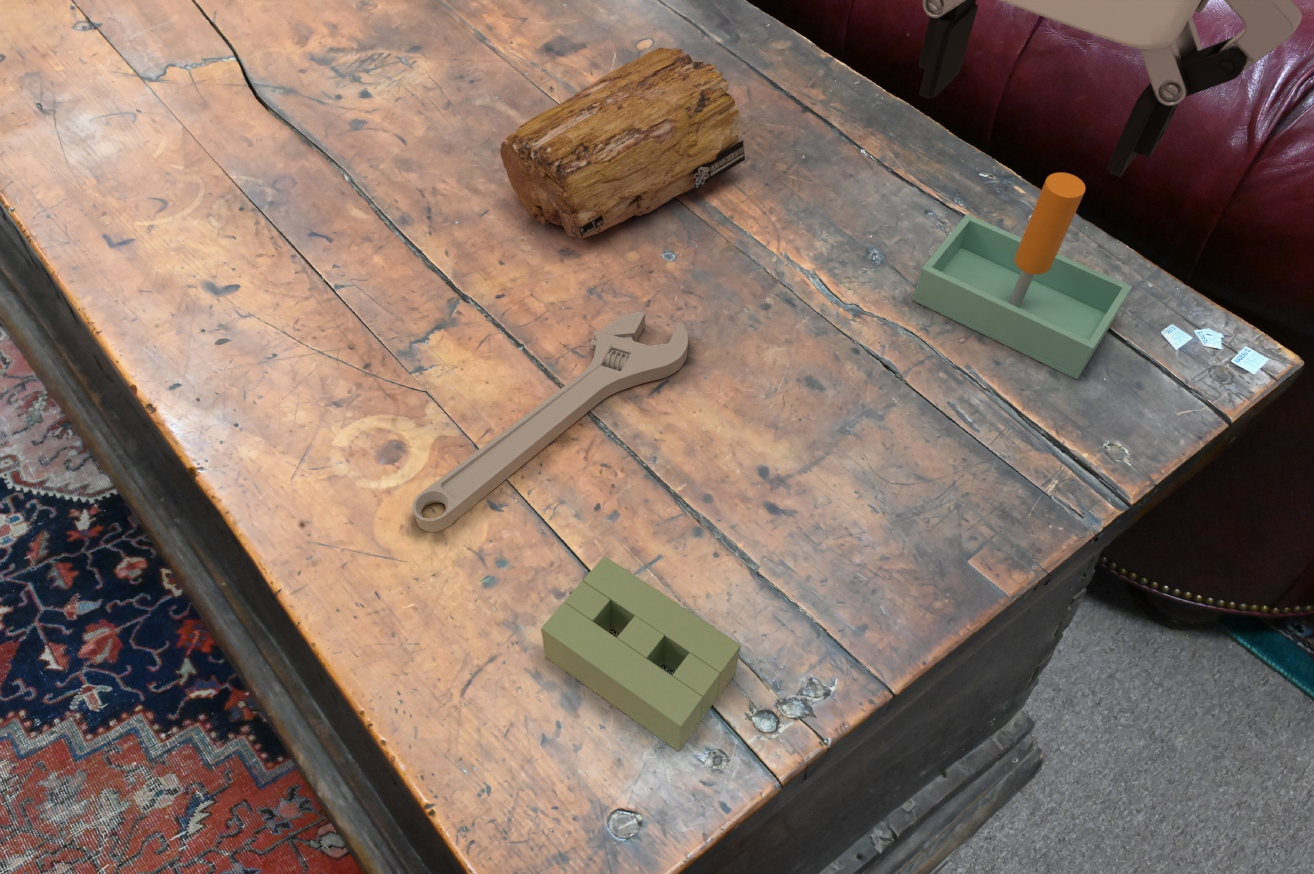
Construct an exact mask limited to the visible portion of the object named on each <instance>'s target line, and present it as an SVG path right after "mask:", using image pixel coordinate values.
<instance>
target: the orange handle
mask: <svg viewBox="0 0 1314 874" xmlns="http://www.w3.org/2000/svg"><path fill="white" fill-rule="evenodd" d="M1085 192H1086V184H1085V182H1083V180H1082V179H1081V178H1079V177H1078V176H1076V175H1075V174H1072V173H1068V172H1053V173H1051V174H1049V175H1048V176H1047V177H1046V179H1045V181H1044V183H1043V185H1042V189H1041V191H1040V193H1039V196H1038V198H1037V201H1036V203H1035V206H1034V208H1033V211H1032V212H1031V216H1030V218H1029V220H1028V223H1027V225H1026V228H1025V230H1024V233H1023V235H1022V237H1021V238H1022V240H1021V243H1020V245H1019V247H1018V250H1017V252H1016V255H1015V258H1014V259H1015V263H1016V265H1017V266H1018V267H1019V268H1020V269H1021V270H1022V272H1021V274H1020V276H1019V279H1018V281H1017V283H1016V286H1015V288H1014V291H1013V293H1012V295H1011V298H1010V300H1009V304H1012V305H1014V306H1016V307H1020V306H1021V305H1022V302H1023V300H1024V298H1025V295H1026V293H1027V291H1028V289H1029V286H1030V284H1031V282H1032V279H1033V277H1034V275H1040V274H1044V273H1046V272H1048V271H1049V270H1050V268H1051V266H1052V264H1053V262H1054V259H1055V257H1056V255H1057V254H1059V250H1060V248H1061V247H1062V244H1063V242H1064V239H1065V237H1066V235H1067V233H1068V230H1069V228H1070V226H1071V224H1072V221H1073V219H1074V217H1075V215H1076V213H1077V211H1078V208H1079V206H1080V204H1081V202H1082V199H1083V197H1084V195H1085Z"/></svg>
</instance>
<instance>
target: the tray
mask: <svg viewBox="0 0 1314 874" xmlns="http://www.w3.org/2000/svg"><path fill="white" fill-rule="evenodd" d="M1022 238H1023V237H1020V236H1018V235H1016V234H1014V233H1011V232H1009V231H1007V230H1005V229H1003V228H1000V227H998V226H996V225H993V224H992V223H989V222H987V221H985V220H982V219H980V218H978V217H976V216H973V215H971V214H968V213H966V214H965V215H964V217H963V218H962V219H961V220H960V221H959V223H958V224H957V225H956V226H955V227H954V228H953V230H952V231H951V232H950V233H949V234H948V235H947V237H946V238H945V239H944V241H943V242H942V243H941V245H939V247H938V248H937V249H936V250H935V252H934V253H933V254H932V256H930V258H929V259H928V260H927V262H926V263H925V264H924V265H923V266H922V268H921V270H920V274H919V277H918V280H917V283H916V286H915V290H914V293H913V295H912V301H913V302H914V303H917V304H919V305H921V306H923V307H925V308H928V309H930V310H931V311H934V312H936V313H938V314H940V315H942V316H944V317H946V318H948V319H950V320H952V321H953V322H956V323H958V324H959V325H962V326H965V327H966V328H969V329H971V330H973V331H975V332H977V333H979V334H981V335H983V336H986V337H988V338H990V339H991V340H994V341H996V342H998V343H1000V344H1002V345H1004V346H1006V347H1008V348H1010V349H1011V350H1012V349H1013V350H1015V351H1016V352H1018V353H1021V354H1023V355H1025V356H1027V357H1029V358H1031V359H1033V360H1035V361H1037V362H1039V363H1042V364H1043V365H1046V366H1048V367H1050V368H1051V369H1053V370H1056V371H1058V372H1060V373H1062V374H1064V375H1067V376H1069V377H1070V378H1073V379H1074V380H1078V379H1079V378H1080V376H1081V374H1082V372H1083V371H1084V369H1085V368H1086V366H1087V365H1088V363H1089V361H1090V360H1091V358H1092V356H1093V355H1094V353H1095V351H1096V350H1097V348H1098V347H1099V345H1100V344H1101V342H1102V340H1103V339H1104V337H1105V335H1106V334H1107V332H1108V331H1109V329H1110V327H1111V326H1112V324H1113V323H1114V321H1115V319H1116V318H1117V316H1118V314H1119V312H1120V310H1121V309H1122V306H1123V305H1124V303H1125V302H1126V299H1127V297H1129V294H1130V292H1131V291H1132V289H1133V286H1132V285H1130V284H1128V283H1126V282H1123V281H1121V280H1119V279H1116V278H1115V277H1112V276H1110V275H1108V274H1105V273H1102V272H1100V271H1098V270H1096V269H1093V268H1092V267H1089V266H1087V265H1084V264H1082V263H1081V262H1078V261H1075V260H1074V259H1071V258H1069V257H1066V256H1064V255H1062V254H1059V253H1057V255H1056V257H1055V259H1054V262H1053V264H1052V266H1051V268H1050V270H1049V271H1048V272H1046V273H1044V274H1040V275H1034V277H1033V279H1032V282H1031V284H1030V286H1029V289H1028V291H1027V293H1026V295H1025V298H1024V300H1023V302H1022V305H1021V306H1020V307H1016V306H1014V305H1012V304H1009V300H1010V298H1011V295H1012V293H1013V291H1014V288H1015V286H1016V283H1017V281H1018V279H1019V276H1020V274H1021V272H1022V270H1021V269H1020V268H1019V267H1018V266H1017V265H1016V263H1015V259H1014V258H1015V255H1016V252H1017V250H1018V247H1019V245H1020V243H1021V240H1022Z"/></svg>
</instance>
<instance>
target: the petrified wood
mask: <svg viewBox="0 0 1314 874" xmlns="http://www.w3.org/2000/svg"><path fill="white" fill-rule="evenodd" d="M716 65H717V64H712V63H705V62H704V61H703V60H696V61H693V59H692V57H691V56H690V54H689V53H685V52H684V49H683V48H669V47H657V48H656V49H653V50H651V51H648V52H647V53H645V54H643V55H642V56H640V57H638V58H636V59H634V60H633V61H631V62H627V63H625V64H623V65H621V66H619V67H618V68H616V69H614V70H612V71H610V72H609V73H606V74H605V75H603V76H602V77H600V78H598V79H597V80H595V81H594V82H592V83H591V84H589V85H588V86H586V87H585V88H583V89H582V90H580V91H577V92H576V93H575V94H574V95H573V96H571V97H568V98H567V99H565V100H564V101H562V102H560V103H559V104H557V105H555V106H553V107H551V108H549V109H546V110H545V111H543V112H541V113H539V114H537V115H535V116H533V117H532V118H530V119H529V120H527V121H526V122H524V123H523V124H521V125H519V126H518V129H517V130H516V131H515V132H513V133H511V134H509V135H508V136H507V137H506V138H505V139H503V141H502V142H501V143H500V150H499V153H500V157H501V160H502V165H503V168H504V169H505V170H506V173H507V178H508V180H509V183H510V185H511V188H512V190H513V191H514V192H515V193H516V195H517V198H518V200H519V201H520V202H521V203H522V204H523V205H524V206H525V208H526V211H528V213H530V215H531V217H532V219H534V220H535V221H539V222H540V223H541V224H542V225H547V224H549V223H552V224H555V225H557V226H562V227H563V229H564V232H565V234H567V236H569V237H573V238H574V239H575V240H576V239H581V238H582V239H583V238H588V237H592V236H594V235H597V234H599V233H602V232H604V231H606V230H607V229H610V228H612V227H614V226H616V225H619V224H621V223H623V222H625V221H627V220H628V219H629V218H631V217H633V216H634V217H639V216H644V215H648V214H650V213H651V212H652V211H654V210H656V209H657V208H659V207H661V206H662V205H664V204H666V203H668V202H669V201H671V200H672V199H674V198H675V197H678V196H679V195H682V194H684V193H687V192H690V191H691V190H692V189H694V190H695V191H696V190H698V189H700V188H702V187H703V186H704V185H706V184H708V183H710V182H711V181H713V180H715V179H716V178H718V177H720V176H721V175H723V174H724V173H726V172H728V171H729V170H732V169H733V168H734V167H735V166H737V165H739V164H740V163H743V162H745V161H746V157H745V156H746V153H745V145H744V144H745V143H744V139H742V140H740V139H739V135H740V132H741V131H740V130H741V116H740V110H739V107H738V106H737V105H736V100H735V99H734V98H733V96H732V95H731V93H730V90H729V82H728V81H727V79H726V78H725V77H724V76H723V72H722V71H719V70H718V68H717V66H716Z"/></svg>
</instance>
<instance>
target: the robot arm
mask: <svg viewBox="0 0 1314 874" xmlns="http://www.w3.org/2000/svg"><path fill="white" fill-rule="evenodd" d="M998 1H999V2H1002V3H1004V4H1008V5H1010V6H1013V7H1015V8H1018V9H1021V10H1024V11H1026V12H1029V13H1032V14H1035V15H1037V16H1040V17H1043V18H1046V19H1049V20H1051V21H1054V22H1056V23H1060V24H1062V25H1065V26H1068V27H1070V28H1074V29H1076V30H1079V31H1082V32H1085V33H1088V34H1091V35H1094V36H1095V37H1099V38H1102V39H1105V40H1108V41H1111V42H1114V43H1116V44H1120V45H1123V46H1127V47H1130V48H1135V49H1138V50H1139V52H1140V55H1141V59H1142V61H1143V63H1144V67H1145V69H1146V72H1147V76H1148V78H1149V81H1150V82H1149V84H1148V85H1147V86H1146V87H1145V88H1144V90H1142V92H1141V94H1140V95H1139V96H1138V98H1137V99H1136V101H1135V102H1134V105H1133V107H1132V109H1131V112H1130V114H1129V116H1128V118H1127V121H1126V123H1125V125H1124V127H1123V129H1122V132H1121V134H1120V136H1119V139H1118V141H1117V142H1116V145H1115V148H1114V150H1113V151H1112V154H1111V156H1110V159H1109V161H1108V163H1107V165H1106V169H1107V170H1109V172H1108V173H1109V174H1112V175H1114V176H1116V177H1119V178H1120V177H1121V176H1122V175H1123V174H1124V173H1125V172H1126V170H1127V168H1128V167H1129V166H1130V164H1131V163H1132V162H1133V160H1134V159H1135V158H1136V156H1137V155H1140V156H1142V157H1144V158H1147V159H1150V158H1151V157H1152V156H1153V154H1154V153H1155V152H1156V150H1157V149H1158V146H1159V145H1160V143H1161V141H1162V140H1163V138H1164V136H1165V133H1166V131H1167V129H1168V127H1169V125H1170V123H1171V121H1172V119H1173V117H1174V116H1175V115H1174V114H1175V113H1176V111H1177V109H1178V108H1179V107H1178V106H1179V105H1180V103H1181V102H1182V101H1183V100H1184V99H1185V98H1187V97H1189V96H1192V95H1195V94H1197V93H1201V92H1203V91H1206V90H1209V89H1212V88H1214V87H1216V86H1219V85H1222V84H1225V83H1227V82H1230V81H1233V80H1235V79H1237V78H1238V77H1239V76H1240V75H1241V73H1242V72H1244V71H1245V70H1247V69H1248V68H1249V67H1251V66H1252V65H1254V64H1256V63H1257V62H1259V61H1260V60H1261V59H1263V58H1264V57H1266V56H1267V55H1269V54H1270V53H1271V52H1273V51H1274V50H1276V49H1278V47H1280V46H1281V45H1282V44H1284V43H1286V42H1287V41H1288V40H1289V39H1290V38H1291V37H1292V36H1293V34H1294V33H1295V32H1296V30H1297V28H1298V27H1299V26H1300V24H1301V22H1302V20H1303V12H1302V10H1301V9H1300V8H1299V7H1298V6H1297V5H1296V4H1295V2H1293V0H1223V1H1224V3H1226V5H1228V7H1229V8H1230V9H1231V10H1232V11H1233V13H1234V14H1236V15H1237V16H1238V18H1239V19H1241V21H1242V23H1243V24H1244V28H1243V29H1242V31H1240V32H1239V33H1237V34H1235V36H1233V37H1230V38H1228V39H1225V40H1222V41H1219V42H1217V43H1214V44H1211V45H1210V46H1207V47H1205V48H1203V45H1202V41H1201V39H1200V36H1199V33H1198V30H1197V27H1196V23H1195V20H1194V17H1193V15H1194V14H1195V13H1197V14H1200V13H1201V12H1202V11H1203V10H1204V9H1205V8H1206V6H1207V5H1208V3H1209V1H1210V0H998ZM977 2H978V1H977V0H922V9H923V10H924V13H925V14H926V15H927V16H929V19H928V23H927V27H926V31H925V35H924V39H923V43H922V47H921V52H920V56H919V59H918V67H919V68H921V69H923V70H924V71H923V75H922V76H923V77H922V80H921V84H920V88H919V92H918V95H919V96H920V97H923V98H926V99H928V100H930V99H932V98H933V99H935V98H936V97H937V96H938V95H939V94H940V93H941V92H942V91H943V90H944V89H946V87H947V86H948V85H949V84H950V83H952V81H954V79H955V78H956V77H957V76H958V75H959V73H960V72H961V69H962V66H963V62H964V59H965V55H966V52H967V48H968V44H969V41H970V38H971V34H972V30H973V26H974V23H975V20H976V16H977V12H978V10H979V4H977Z"/></svg>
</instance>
